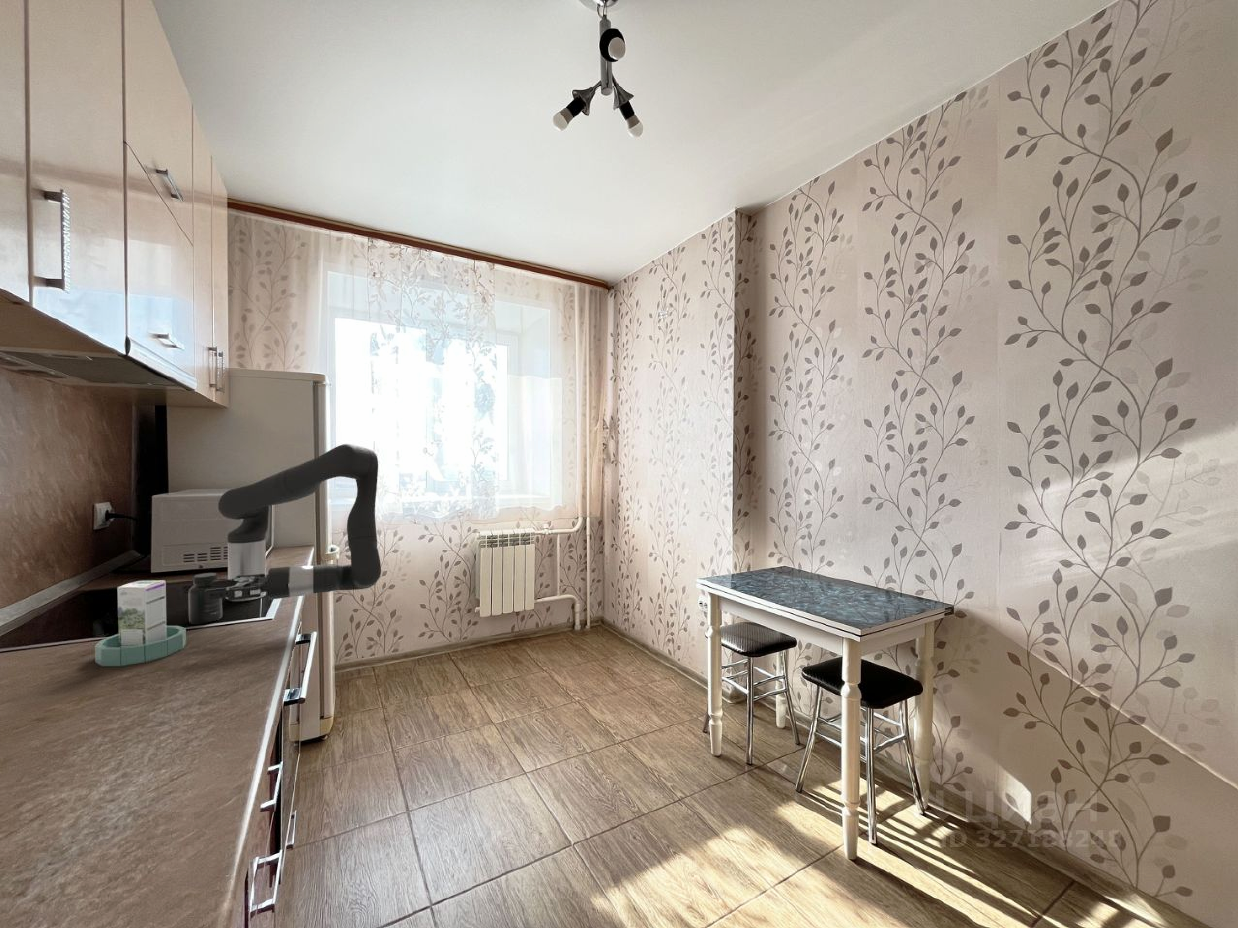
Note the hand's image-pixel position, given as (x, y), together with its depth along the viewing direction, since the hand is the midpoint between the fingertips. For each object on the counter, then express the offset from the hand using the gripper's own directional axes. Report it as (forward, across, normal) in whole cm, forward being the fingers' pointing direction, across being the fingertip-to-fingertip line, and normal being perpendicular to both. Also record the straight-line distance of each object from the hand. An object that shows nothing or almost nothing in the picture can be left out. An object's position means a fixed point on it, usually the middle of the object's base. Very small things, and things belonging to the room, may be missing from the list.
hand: (208, 590), depth 116 cm
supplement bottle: (+3, -20, +13) cm, 24 cm away
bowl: (+11, 0, +12) cm, 17 cm away
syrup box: (+11, +1, +11) cm, 16 cm away
